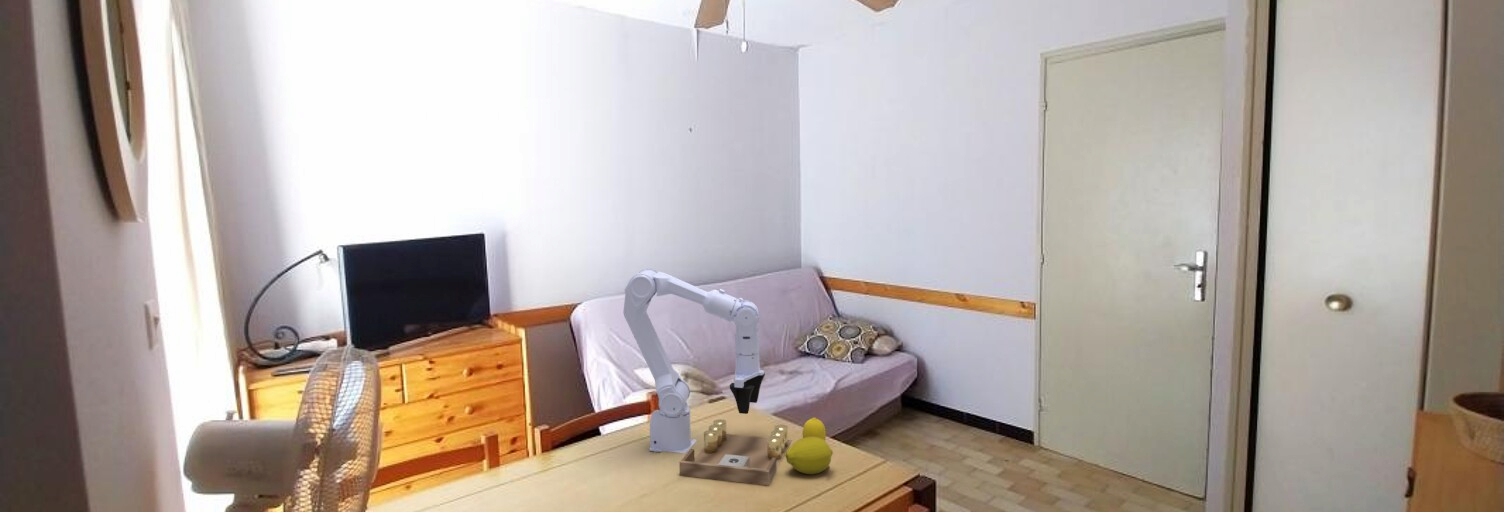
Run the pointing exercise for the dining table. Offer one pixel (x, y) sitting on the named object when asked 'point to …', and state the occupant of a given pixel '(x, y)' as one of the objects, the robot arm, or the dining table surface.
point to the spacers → (719, 434)
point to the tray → (734, 445)
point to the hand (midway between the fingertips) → (748, 407)
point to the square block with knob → (735, 461)
